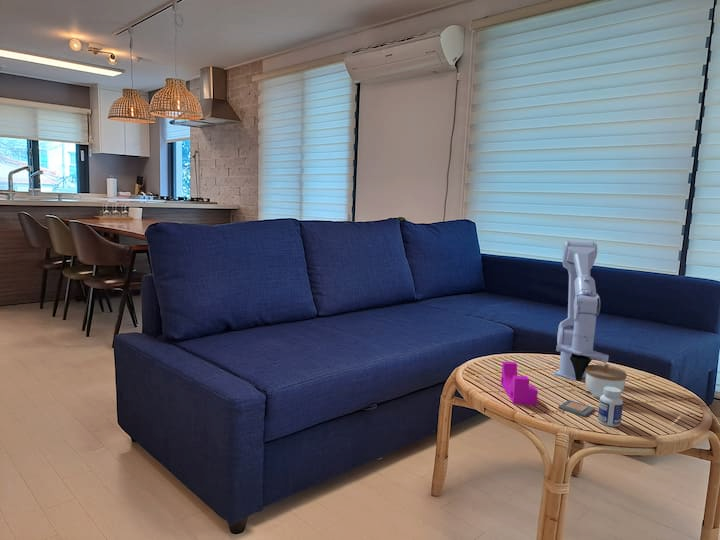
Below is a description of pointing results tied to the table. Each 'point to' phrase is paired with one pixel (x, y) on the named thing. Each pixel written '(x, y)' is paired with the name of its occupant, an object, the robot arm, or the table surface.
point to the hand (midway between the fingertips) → (578, 379)
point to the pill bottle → (610, 407)
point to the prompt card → (576, 408)
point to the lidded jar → (603, 378)
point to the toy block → (517, 385)
